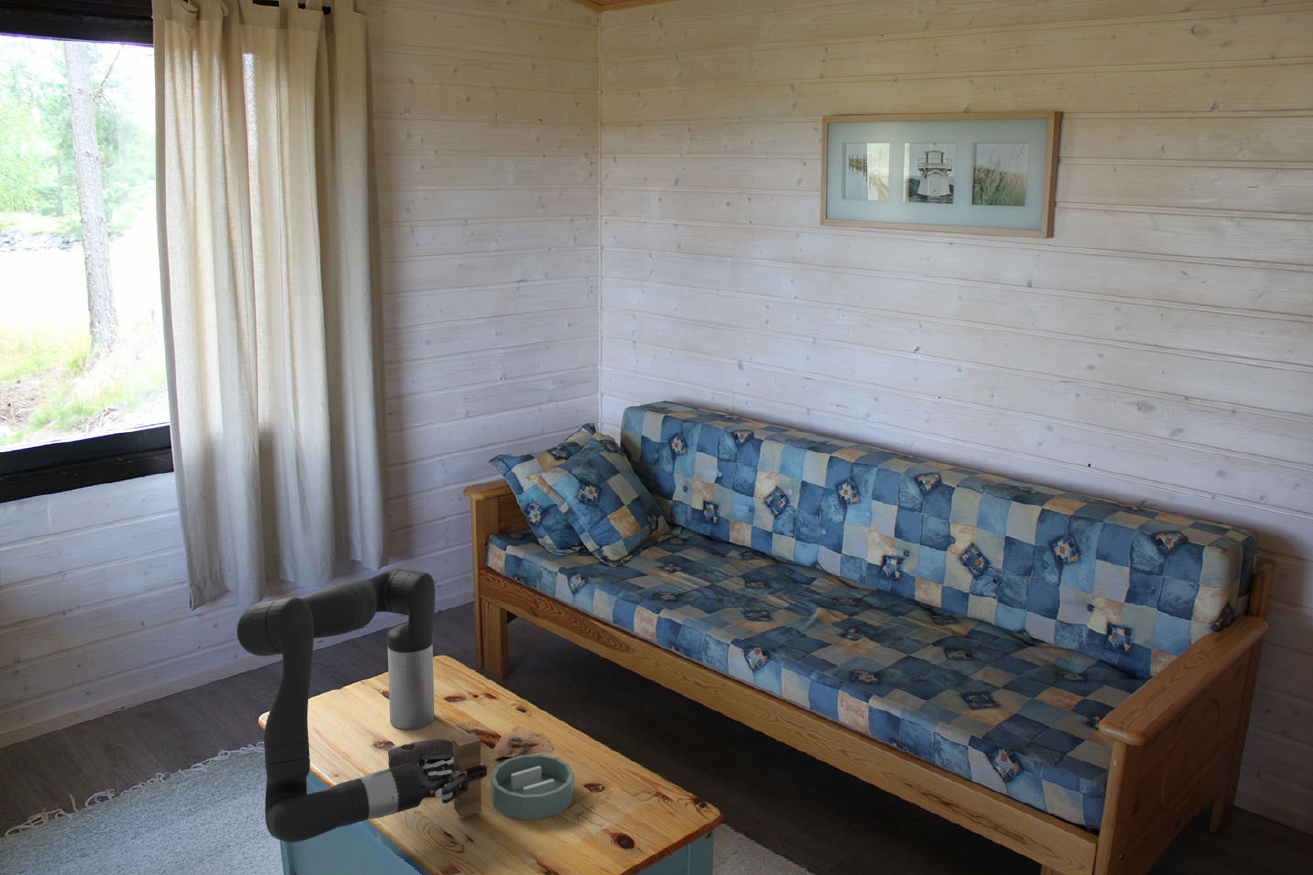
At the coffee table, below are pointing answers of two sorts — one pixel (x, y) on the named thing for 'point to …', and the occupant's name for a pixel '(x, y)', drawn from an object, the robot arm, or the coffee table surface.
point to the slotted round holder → (532, 786)
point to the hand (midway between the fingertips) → (481, 765)
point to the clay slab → (521, 744)
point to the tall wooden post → (465, 758)
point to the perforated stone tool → (419, 751)
